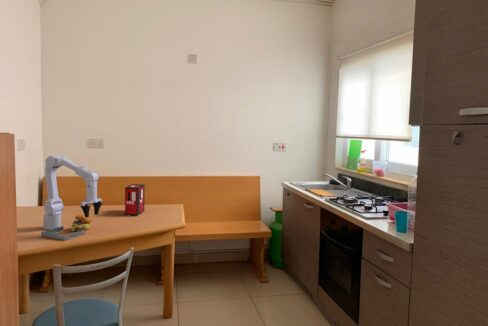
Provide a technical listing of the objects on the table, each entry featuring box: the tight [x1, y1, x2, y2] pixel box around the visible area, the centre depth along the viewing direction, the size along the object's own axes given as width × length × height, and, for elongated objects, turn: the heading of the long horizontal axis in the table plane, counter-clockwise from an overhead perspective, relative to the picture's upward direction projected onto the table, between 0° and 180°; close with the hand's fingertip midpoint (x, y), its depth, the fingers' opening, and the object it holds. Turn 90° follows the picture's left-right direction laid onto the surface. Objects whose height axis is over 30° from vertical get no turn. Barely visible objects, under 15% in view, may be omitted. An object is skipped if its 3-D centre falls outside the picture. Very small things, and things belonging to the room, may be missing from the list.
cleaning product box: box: [124, 183, 146, 217], centre depth 269 cm, size 16×9×20 cm, turn 179°
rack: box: [40, 225, 86, 241], centre depth 212 cm, size 17×14×3 cm
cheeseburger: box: [71, 214, 92, 232], centre depth 224 cm, size 10×11×10 cm
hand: (91, 215), depth 218 cm, fingers open, 7 cm apart
